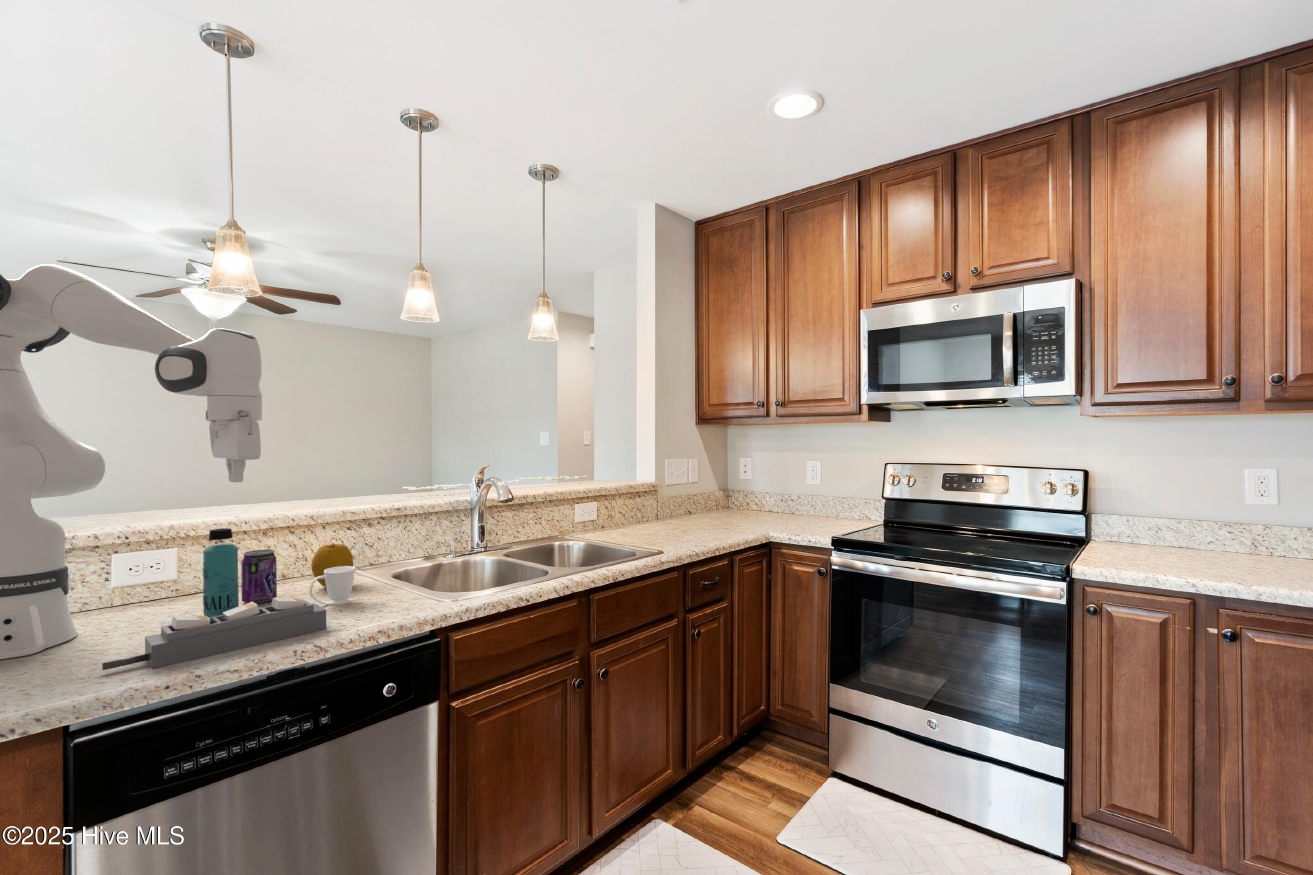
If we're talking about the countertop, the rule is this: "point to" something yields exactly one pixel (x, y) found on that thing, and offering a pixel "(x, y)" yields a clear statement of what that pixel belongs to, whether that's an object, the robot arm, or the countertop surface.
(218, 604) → the beverage bottle
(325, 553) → the apple
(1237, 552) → the countertop surface
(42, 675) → the countertop surface
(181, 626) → the block
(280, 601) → the rocker
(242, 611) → the rocker
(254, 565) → the beverage can
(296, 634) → the rocker switch panel
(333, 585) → the cup
